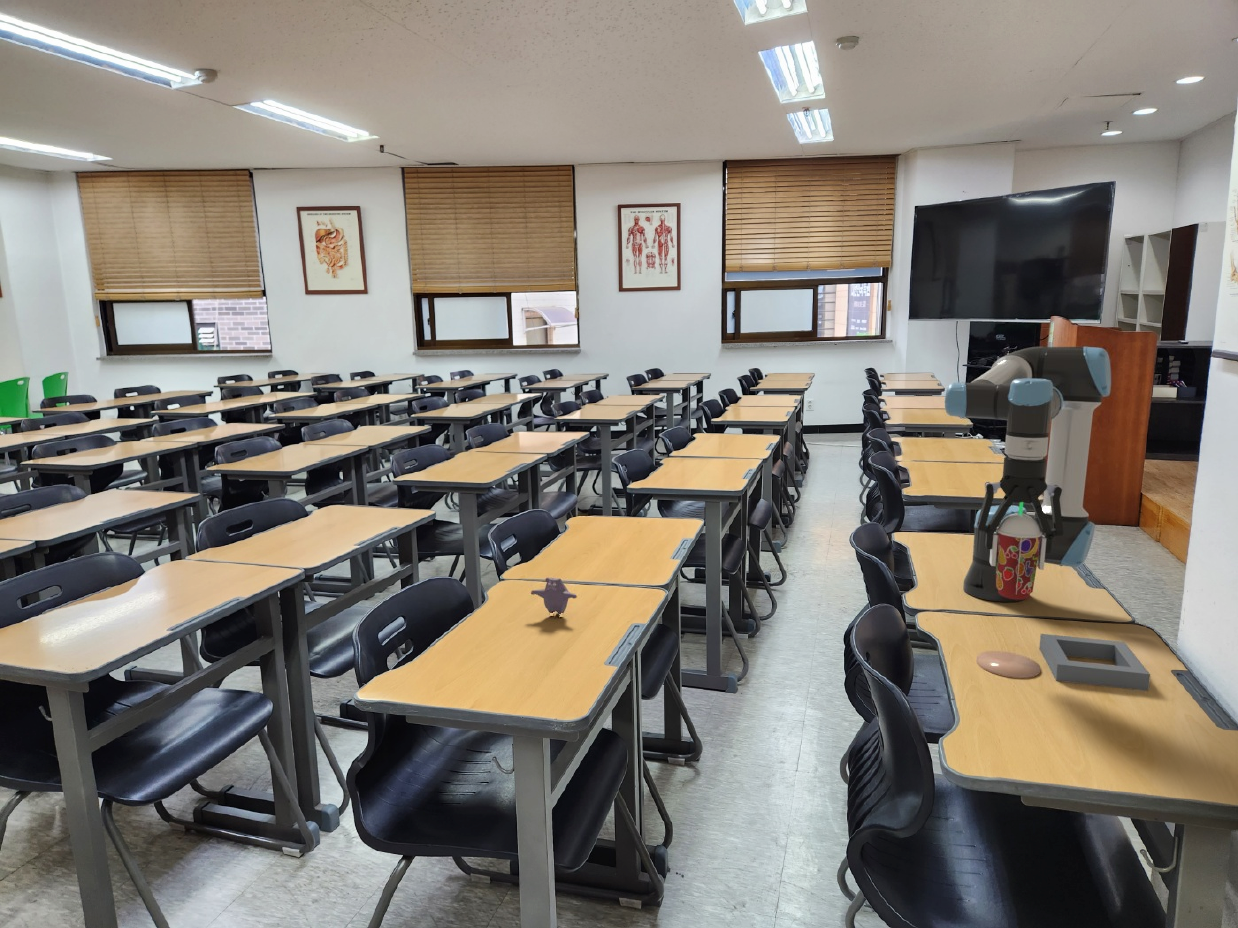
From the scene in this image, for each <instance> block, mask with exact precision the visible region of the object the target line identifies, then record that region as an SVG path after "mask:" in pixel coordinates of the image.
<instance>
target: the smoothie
mask: <svg viewBox="0 0 1238 928" xmlns="http://www.w3.org/2000/svg"><path fill="white" fill-rule="evenodd" d="M1018 506H1019V513H1015V514H1011V515H1009V516H1007V517H1005V518H1004V519H1003V520H1002V521H1001V523H1000V525H999V527H997V529H996V531H997V535H998V540H997V553H996V588H997V589H998V593H999V594H1000V595H1002V596H1003V597H1006V598H1010V599H1019V600H1020V599H1023V600H1027V599H1029V598H1030V597H1031V596H1030V595H1031V594H1033V592H1034V585H1035V579H1036V573H1037V568H1038V567H1037V562H1038V555H1039V549H1040V543H1041V536H1042V532H1041V531H1040V528H1039V525H1038V524H1037V522H1036V521H1035V520H1034V519H1033V518H1032V517H1030V516H1028V515H1026V514H1027V513H1026V514H1023V513H1022V512H1023V507H1024V502H1020V503H1019V504H1018Z"/></svg>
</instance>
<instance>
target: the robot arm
mask: <svg viewBox="0 0 1238 928" xmlns="http://www.w3.org/2000/svg"><path fill="white" fill-rule="evenodd" d="M1111 387H1112V371H1111V360H1110V356H1109V353H1108V351H1107V350H1105V349H1104V348H1103V347H1094V346H1091V347H1090V346H1032V347H1026V348H1023V349H1019V350H1015V351H1013V352H1010V353H1008V354H1006V355H1004V356H1001V357H1000V358H998V359H997V360H996V361H995V362H994V363H993V364H992V366H991V368H990V369H989V370H987V371H986V372H985V373H983V374H981V375H980V376H979V377H977V378H975V379H974V380H972V381H971V382H965V381H961V382H952V383H949V385H948V386H947V388H946V390H945V395H944V410H945V412H946V414H947V415H949V416H950V417H957V418H961V419H964V418H965V419H966V418H969V419H985V420H986V419H989V420H1000V421H1001V420H1002V421H1003V420H1004V421H1006V433H1005V443H1004V454H1005V455H1006V456H1005V457H1004V458H1003V465H1002V466H1003V469H1002V470H1003V471H1002V476H1001V477H1002V478H1001V479H1000V480H999V481H998V482H991V481H987V482H984V483H985V484H984V490H985V494H984V498H983V501H982V505H981V508H980V509H979V510H978V511H977V513H976V514H975V521H974V522H975V523H974V524H973V528H974V534H973V545H972V546H973V549H972V550H973V551H972V562H971V564H970V566H969V569H968V570H967V573H966V575H965V577H964V580H963V591H964V592H965V593H966V594H968V595H970V596H972V597H975V598H979V599H983V600H986V601H992V602H998V603H1000V602H1001V603H1014V602H1020V601H1023V600H1024V599H1020V600H1019V599H1010V598H1006V597H1003V596H1002V595H1000V594H999V593H998V589H997V588H996V553H997V540H998V535H997V531H996V529H997V527H999V525H1000V523H1001V521H1002V520H1003V519H1004V518H1005V517H1007V516H1009V515H1011V514H1015V513H1019V505H1013V503H1015V504H1018V503H1019V504H1020V502H1023V504H1024V503H1025V504H1031V505H1032V508H1033V510H1034V514H1030V513H1029V514H1027V513H1028V510H1027V509H1026V507H1024V506H1023V512H1022V513H1023V514H1026V515H1028V516H1030V517H1032V518H1033V519H1034V520H1035V521H1036V522H1037V524H1038V525H1039V528H1040V531H1041V532H1042V536H1041V543H1040V549H1039V555H1038V562H1037V568H1038V569H1039V570H1041V571H1044V570H1045V569H1044V567H1045V564H1052V565H1057V566H1059V567H1069V568H1071V567H1072V568H1079V567H1081V566H1082V565H1083V564H1084V563H1085V562H1086V560H1087V557H1088V554H1089V551H1090V549H1091V545H1092V542H1093V539H1094V534H1095V528H1096V524H1095V523H1094V522H1092V521H1089V515H1090V514H1089V513H1088V512H1087V511H1086V509H1085V508H1084V506H1083V505H1084V497H1085V496H1084V495H1085V486H1086V477H1087V471H1088V470H1087V469H1088V462H1089V461H1088V459H1089V453H1090V452H1089V450H1090V443H1091V442H1090V441H1091V431H1092V425H1093V424H1092V423H1093V414H1094V413H1093V412H1094V411H1095V409H1096V408H1098V407H1099V406H1100V405H1101V404H1102V401H1103V397H1104V398H1105V397H1106V398H1107V397H1108V396H1110V394H1111ZM1050 422H1051V424H1050ZM1050 425H1051V426H1050ZM1049 432H1050V433H1049ZM1049 434H1050V435H1049ZM1048 444H1049V445H1048ZM1046 456H1047V460H1046V459H1045V457H1046ZM999 489H1001V490H1002V492H1003V493H1004V496H1003V497H1002V500H1001V503H1000V504H999V505H992V504H993V500H994V497H995V496H994V495H995V494H997V493H998V490H999ZM1042 494H1043V500H1042V503H1041V502H1040V499H1039V498H1040V497H1041V495H1042Z"/></svg>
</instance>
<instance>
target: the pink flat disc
mask: <svg viewBox="0 0 1238 928" xmlns="http://www.w3.org/2000/svg"><path fill="white" fill-rule="evenodd" d="M975 661H976V664H977V665H978V666H979V667H980V668H981V669H983V670H985V671H987V672H989V673H992V674H995V675H998V676H1001V677H1005V678H1006V677H1007V678H1013V679H1029V678H1030V679H1031V678H1033V677H1036V676H1039V674H1040V673H1041V666H1040V665H1039V663H1038V662H1036V661H1035V660H1034V659H1031V658H1030V657H1027V656H1024V655H1022V654H1019V653H1014V652H1009V651H1002V650H1000V651H999V650H991V651H990V650H989V651H984V652H981V653H978V655H977V656H976V660H975Z"/></svg>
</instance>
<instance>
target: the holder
mask: <svg viewBox="0 0 1238 928" xmlns="http://www.w3.org/2000/svg"><path fill="white" fill-rule="evenodd" d="M1038 647H1039V651H1040V653H1041V654H1042V657H1043V659H1044V660H1045V662H1046V665H1047V666H1048V668H1049V670H1050V672H1051V674H1052V675H1053V678H1054V680H1055V681H1057V682H1064V683H1065V682H1066V683H1074V684H1084V685H1092V686H1101V687H1109V688H1119V689H1127V690H1128V689H1129V690H1136V691H1144V692H1145V691H1146V692H1149V687H1150V679H1151V673H1150V672H1149V670H1147V668H1146V667H1145V665H1144V664H1142V662H1141V660H1140V659H1139V658H1138V657H1137V656H1136V654H1135V653H1134V652H1133V650H1131V648H1130V647H1129V645H1128V644H1127V643H1126V642H1125V641H1120V640H1119V641H1118V640H1110V639H1109V640H1108V639H1102V638H1101V639H1098V638H1090V637H1089V638H1088V637H1079V636H1069V635H1057V634H1049V633H1048V634H1047V633H1040V639H1039V646H1038ZM1068 657H1072V658H1073V657H1075V658H1082V659H1083V658H1084V659H1092V660H1093V659H1094V660H1103V661H1104V660H1105V661H1112V662H1113V663H1114V664H1106V663H1105V664H1104V663H1094V662H1083V661H1077V660H1069V659H1068Z"/></svg>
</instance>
